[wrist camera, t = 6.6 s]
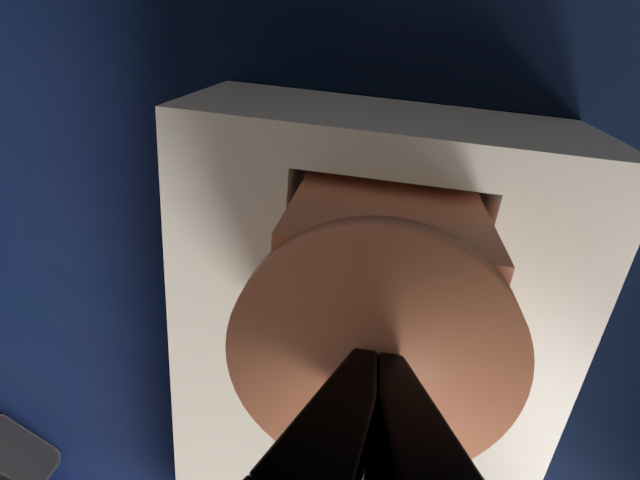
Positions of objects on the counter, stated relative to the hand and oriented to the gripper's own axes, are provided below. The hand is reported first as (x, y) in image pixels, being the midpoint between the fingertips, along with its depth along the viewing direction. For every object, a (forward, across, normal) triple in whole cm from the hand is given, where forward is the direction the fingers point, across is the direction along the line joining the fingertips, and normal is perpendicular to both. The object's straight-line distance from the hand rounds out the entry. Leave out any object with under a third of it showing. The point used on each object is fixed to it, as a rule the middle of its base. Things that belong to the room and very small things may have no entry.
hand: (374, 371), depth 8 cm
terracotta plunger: (+5, 0, 0) cm, 5 cm away
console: (+8, 0, +7) cm, 11 cm away
